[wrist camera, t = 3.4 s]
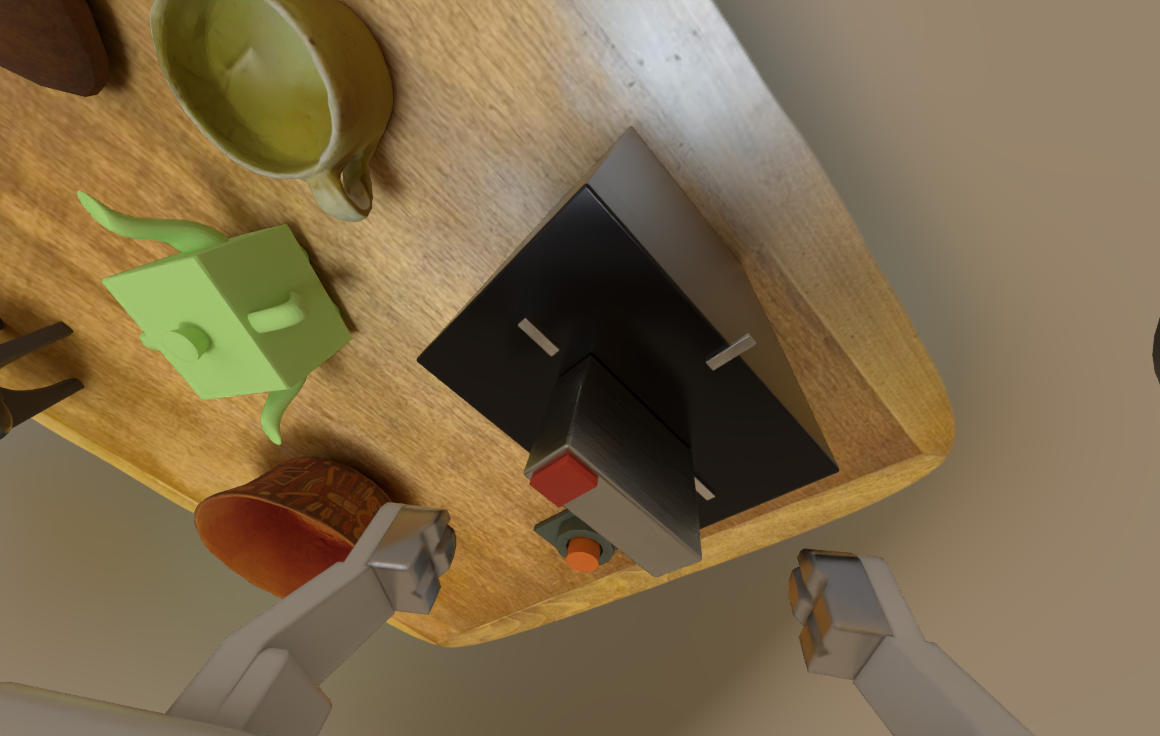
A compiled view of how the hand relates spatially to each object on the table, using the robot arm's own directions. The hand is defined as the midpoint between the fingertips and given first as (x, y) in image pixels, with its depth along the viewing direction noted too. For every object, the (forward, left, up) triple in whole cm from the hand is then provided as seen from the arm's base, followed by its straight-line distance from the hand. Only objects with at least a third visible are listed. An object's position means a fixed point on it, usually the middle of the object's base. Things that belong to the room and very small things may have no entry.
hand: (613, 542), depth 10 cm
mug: (+20, -9, -25) cm, 33 cm away
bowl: (+36, +31, -25) cm, 54 cm away
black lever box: (0, 0, -25) cm, 25 cm away
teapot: (+31, +4, -25) cm, 40 cm away
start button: (+6, +34, -23) cm, 41 cm away
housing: (+6, +34, -25) cm, 42 cm away
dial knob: (0, 0, -5) cm, 5 cm away
